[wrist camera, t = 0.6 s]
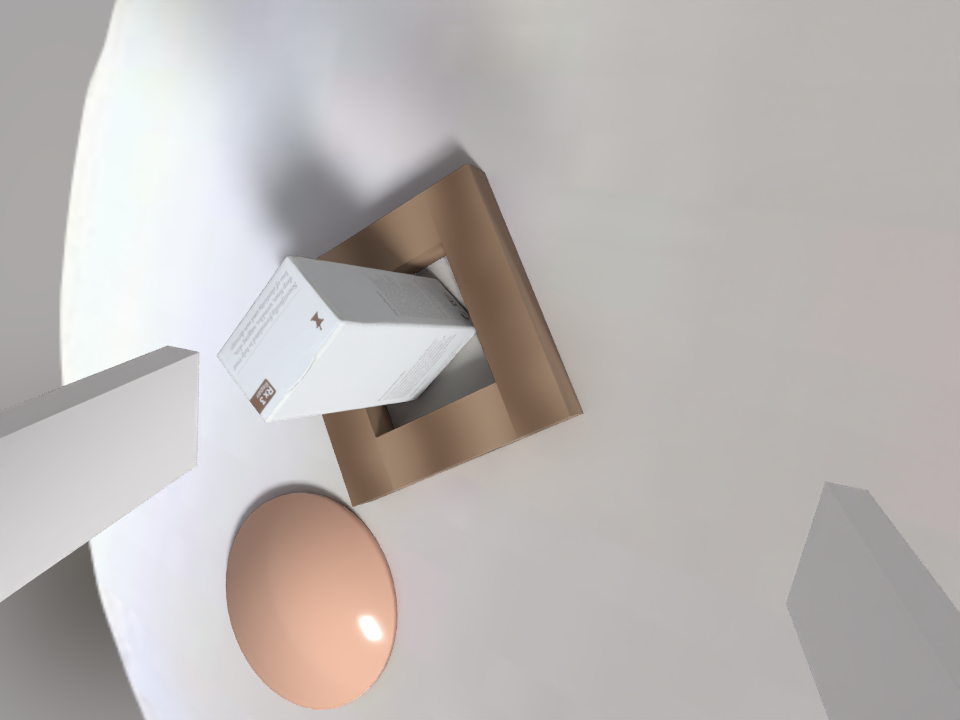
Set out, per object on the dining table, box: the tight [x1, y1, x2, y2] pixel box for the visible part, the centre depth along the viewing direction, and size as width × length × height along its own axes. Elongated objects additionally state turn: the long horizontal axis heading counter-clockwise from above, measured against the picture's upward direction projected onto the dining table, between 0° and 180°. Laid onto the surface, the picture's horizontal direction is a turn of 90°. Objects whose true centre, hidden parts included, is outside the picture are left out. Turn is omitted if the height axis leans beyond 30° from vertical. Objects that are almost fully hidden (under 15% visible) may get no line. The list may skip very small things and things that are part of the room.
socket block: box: [316, 163, 583, 507], centre depth 38 cm, size 14×14×2 cm
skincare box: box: [217, 255, 476, 423], centre depth 33 cm, size 6×4×12 cm
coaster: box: [226, 492, 397, 709], centre depth 42 cm, size 13×13×1 cm
